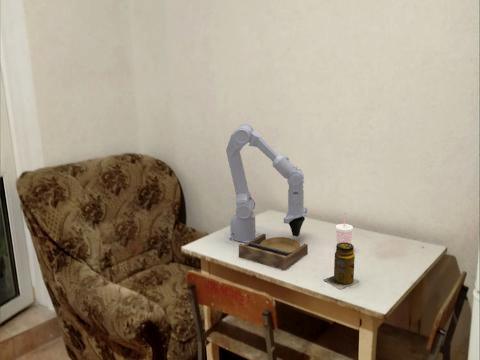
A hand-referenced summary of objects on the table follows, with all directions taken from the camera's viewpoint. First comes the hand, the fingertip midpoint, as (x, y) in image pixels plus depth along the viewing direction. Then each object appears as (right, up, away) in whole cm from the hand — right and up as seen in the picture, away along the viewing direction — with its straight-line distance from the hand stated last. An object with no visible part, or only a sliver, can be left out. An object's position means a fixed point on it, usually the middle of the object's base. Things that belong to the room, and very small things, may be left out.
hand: (295, 235), depth 174 cm
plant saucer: (-7, -5, -8) cm, 12 cm away
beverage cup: (+16, -4, -9) cm, 19 cm away
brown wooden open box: (-9, -6, -12) cm, 16 cm away
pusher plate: (-12, -6, -15) cm, 20 cm away
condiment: (+10, -11, -31) cm, 35 cm away
